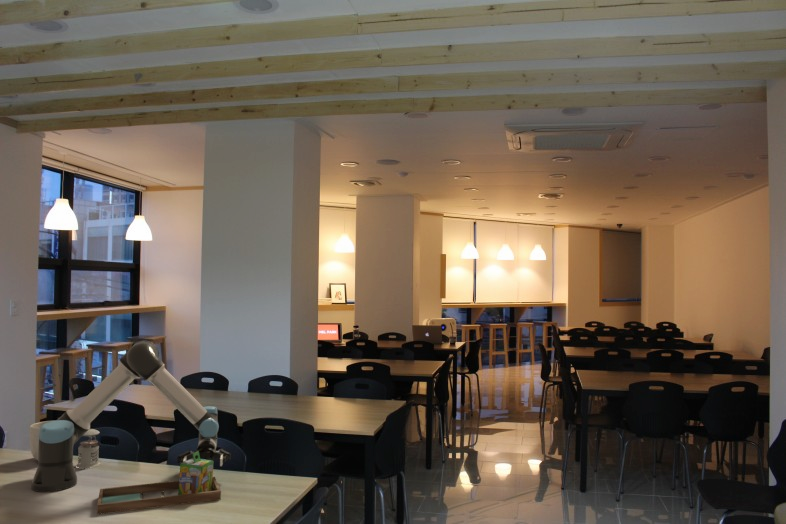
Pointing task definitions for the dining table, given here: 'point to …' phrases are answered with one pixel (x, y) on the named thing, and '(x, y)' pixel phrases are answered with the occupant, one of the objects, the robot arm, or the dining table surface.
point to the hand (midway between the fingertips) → (202, 463)
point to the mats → (158, 493)
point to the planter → (35, 438)
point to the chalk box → (195, 475)
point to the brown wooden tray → (152, 501)
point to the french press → (88, 451)
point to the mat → (121, 498)
